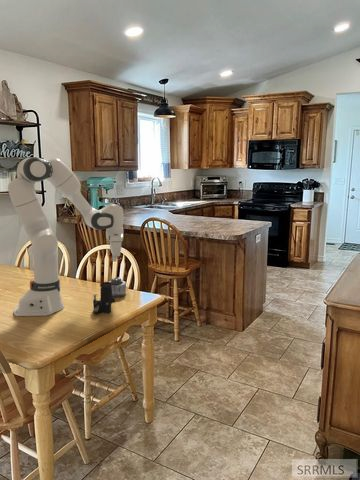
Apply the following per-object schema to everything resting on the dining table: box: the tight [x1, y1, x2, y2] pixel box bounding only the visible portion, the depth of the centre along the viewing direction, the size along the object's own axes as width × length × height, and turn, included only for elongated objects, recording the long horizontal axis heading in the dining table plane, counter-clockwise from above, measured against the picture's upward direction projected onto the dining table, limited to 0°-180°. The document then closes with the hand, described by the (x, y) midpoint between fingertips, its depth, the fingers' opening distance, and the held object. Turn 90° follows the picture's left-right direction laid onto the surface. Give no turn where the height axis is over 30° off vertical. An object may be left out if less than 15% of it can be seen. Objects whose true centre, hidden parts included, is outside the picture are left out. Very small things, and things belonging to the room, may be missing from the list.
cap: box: [110, 277, 122, 285], centre depth 206 cm, size 5×5×6 cm
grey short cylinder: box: [108, 279, 127, 299], centre depth 206 cm, size 10×10×6 cm
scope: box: [92, 281, 116, 315], centre depth 182 cm, size 8×14×10 cm
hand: (114, 261), depth 203 cm, fingers closed
